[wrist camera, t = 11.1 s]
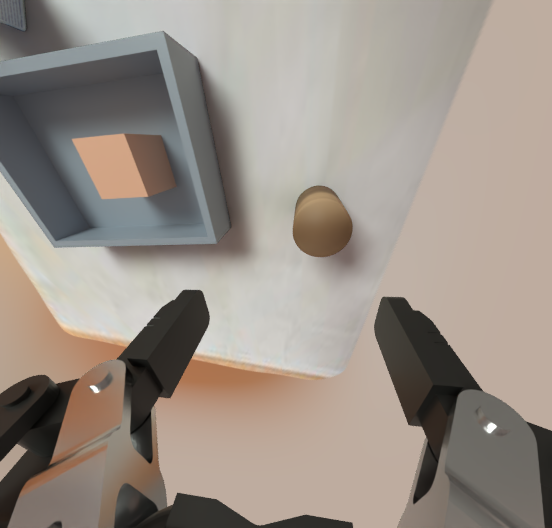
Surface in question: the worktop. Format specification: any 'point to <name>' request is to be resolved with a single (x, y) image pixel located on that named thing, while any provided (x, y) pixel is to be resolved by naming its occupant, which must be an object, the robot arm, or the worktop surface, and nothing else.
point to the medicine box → (13, 13)
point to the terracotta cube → (126, 164)
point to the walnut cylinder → (321, 222)
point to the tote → (108, 121)
